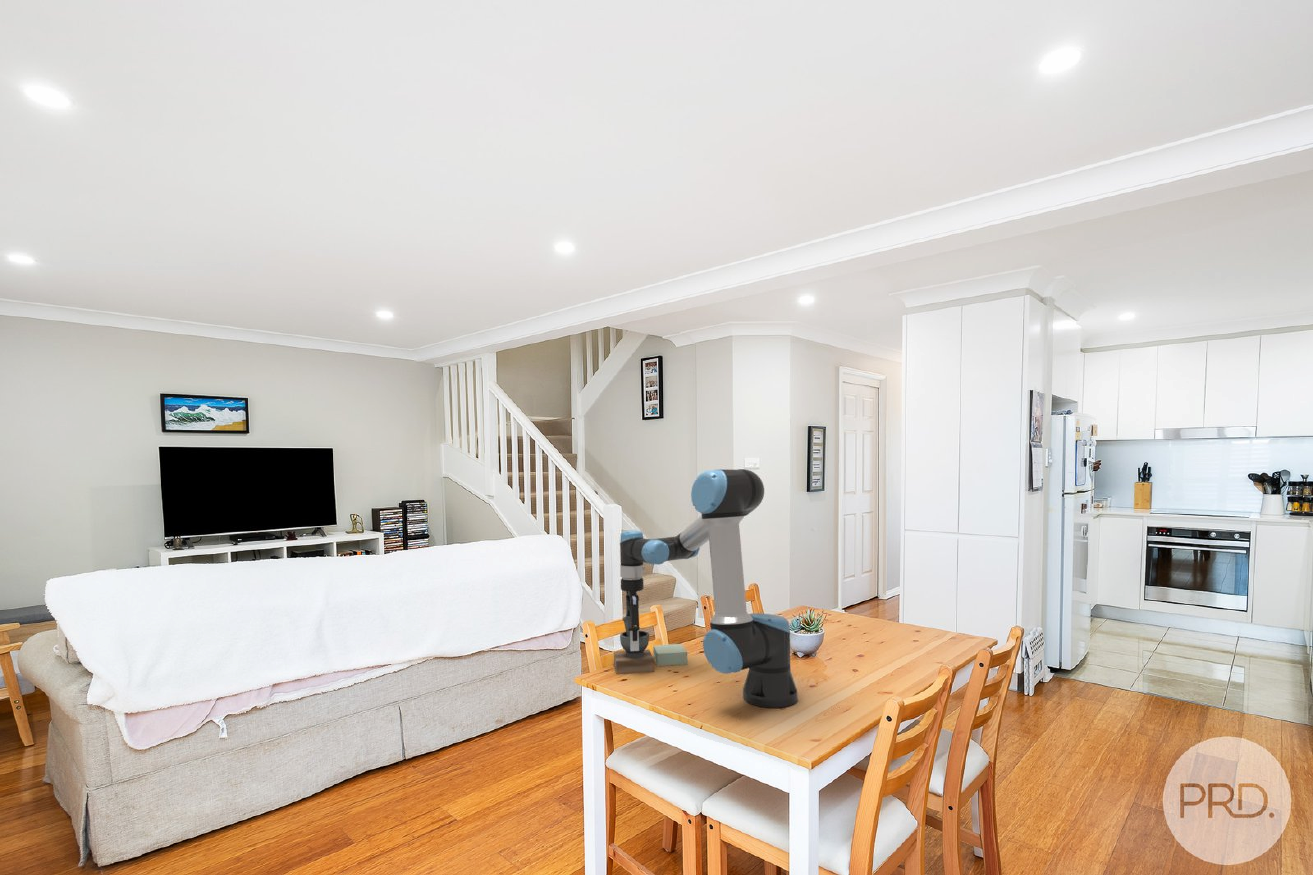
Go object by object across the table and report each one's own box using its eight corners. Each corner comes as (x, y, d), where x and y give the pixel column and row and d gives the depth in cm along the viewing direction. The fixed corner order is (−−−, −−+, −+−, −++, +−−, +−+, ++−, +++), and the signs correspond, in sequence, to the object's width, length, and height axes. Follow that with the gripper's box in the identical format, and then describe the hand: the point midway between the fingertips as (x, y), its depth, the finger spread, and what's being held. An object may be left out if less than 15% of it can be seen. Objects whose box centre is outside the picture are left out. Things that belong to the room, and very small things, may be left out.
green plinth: (687, 664, 213) (687, 652, 213) (657, 666, 212) (657, 653, 212) (681, 655, 223) (681, 643, 223) (653, 657, 222) (653, 645, 222)
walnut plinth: (653, 671, 206) (653, 659, 206) (616, 674, 204) (616, 661, 205) (649, 661, 217) (649, 649, 217) (613, 663, 215) (613, 651, 215)
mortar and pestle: (655, 656, 209) (654, 619, 210) (630, 661, 204) (630, 623, 204) (636, 648, 218) (636, 613, 219) (612, 653, 213) (612, 617, 214)
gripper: (647, 583, 201) (648, 655, 200) (639, 571, 224) (640, 636, 223) (623, 584, 200) (624, 656, 199) (617, 572, 223) (618, 637, 222)
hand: (632, 645), depth 211 cm, fingers open, 10 cm apart
